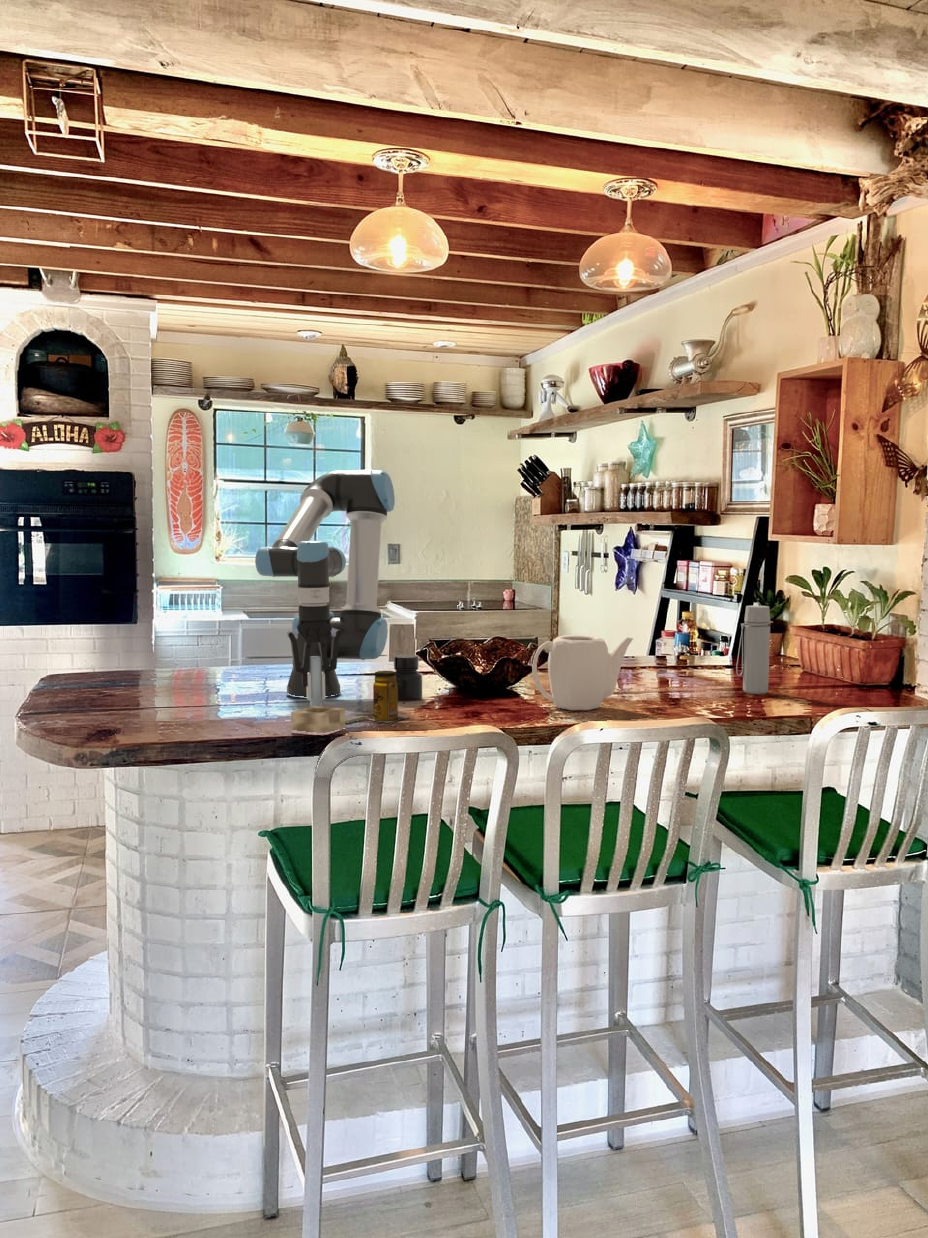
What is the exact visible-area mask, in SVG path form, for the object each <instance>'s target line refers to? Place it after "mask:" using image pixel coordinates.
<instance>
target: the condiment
mask: <svg viewBox="0 0 928 1238" xmlns="http://www.w3.org/2000/svg"><path fill="white" fill-rule="evenodd" d="M372 688H373V693H372V695H373V696H372V697H373V705H372V706H373V709H372V710H373V717H372V718H373V719H371V718H368V720H370V721H373V722H379V723H386V724H387V723H393V722H397V721H401V720H404V719H405V720H406V719H409V718H410V716H402V715H399V705H398V704H399V703H398V702H399V701H398V684H397V682H396V673H395V671H393V670H378V671H375V672H374V682H373V686H372Z"/></svg>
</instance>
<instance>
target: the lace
mask: <svg viewBox="0 0 928 1238" xmlns="http://www.w3.org/2000/svg"><path fill="white" fill-rule="evenodd" d="M363 719H365V720H367V716H366V715H359V716H357V717H356V716H355V717H351V718H347V719H345V723H347V722H353V721H357V720H361V721H364V720H363ZM357 722H358V721H357ZM353 723H354V722H353Z"/></svg>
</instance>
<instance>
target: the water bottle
mask: <svg viewBox="0 0 928 1238" xmlns="http://www.w3.org/2000/svg"><path fill="white" fill-rule="evenodd" d="M770 611H771V610H770V606H767V605H746V606H745V613H744V620H743V621H744V622H743V623H740V626H741V627H740V628H741V632H740V633H741V634H740V638H739V646H738V652H737V653H738V654H737V660H736V668H735V669H736V675H737V676H738V677H739V676H740V677H741V676H742V691H743V692H744V693H745V694H748V695H765V694H767V693H768V692H769V675H770V648H771V647H770V641H771V640H770V639H771V626H770V624H771V622H772V621H771V613H770ZM740 649H741V650H740ZM740 651H741V672H740V674H739V673H738V671H739V670H738V664H739V656H740Z"/></svg>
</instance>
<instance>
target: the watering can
mask: <svg viewBox="0 0 928 1238" xmlns="http://www.w3.org/2000/svg"><path fill="white" fill-rule="evenodd" d="M633 640H634V638H632V637H629V636H627V637H626V638H625V639H624V640H623V641H621V642H620V644H619V645H618V646H617V647H616V648H615V649H614V650H613V651H612V652H611V653H609V648H608V646H607V643H606V641H605V639H604V638H601V637H599V636H594V635H586V634H585V635H583V634H582V635H579V634H572V635H570V634H568V635H560V636H559V635H558V636H557V637H555V638H554V639H553V641H551V640H547V641H546V642H543V643H542V644H541V645H540V646H538V647H537V650H536V652H535V654H534V656H533V661H532V666H531V669H532V673H531V674H532V677H533V682H534V684H535V687H536V689H537V690H538V691H539V692H540V693H541V694H542V696H543V697H544V698H545V699H546V700H549V701H550V702H552V703H553V704H554V706H555V707H556V708H557V709H560V708H561V709H562V710H568V711H591V710H594V709H595V710H596V709H599V708H600V707H601V704H602V702H603V700H604V699H606V698H609V697H611V696H612V695H613V694H614V693H615V690H616V687H617V683H618V678H619V676H620V671H621V667H622V664H623V660H624V657H625V655H626V652H627V650H628V647H629V646H630V644H631V643H632V641H633ZM544 649H547V650H549V652H548V653H549V654H548V658H547V674H548V680H549V688H550V692H551V694H550V693H548V692H547V691H546V689H545V688H544V687H543V685H542V683H541V681H540V677H539V674H538V665H537V664H538V660H539V656H540V655H541V652H542V651H543V650H544Z"/></svg>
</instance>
